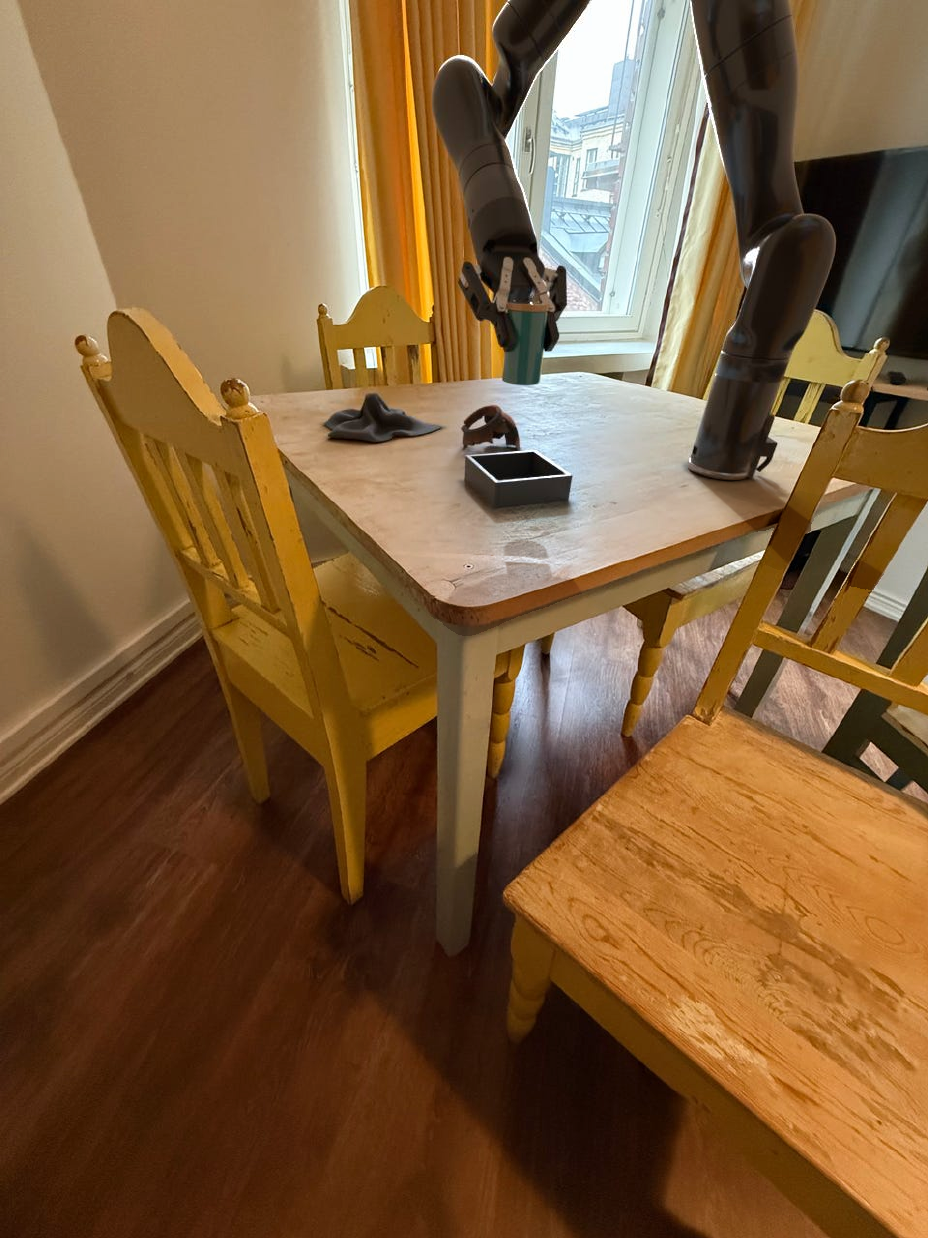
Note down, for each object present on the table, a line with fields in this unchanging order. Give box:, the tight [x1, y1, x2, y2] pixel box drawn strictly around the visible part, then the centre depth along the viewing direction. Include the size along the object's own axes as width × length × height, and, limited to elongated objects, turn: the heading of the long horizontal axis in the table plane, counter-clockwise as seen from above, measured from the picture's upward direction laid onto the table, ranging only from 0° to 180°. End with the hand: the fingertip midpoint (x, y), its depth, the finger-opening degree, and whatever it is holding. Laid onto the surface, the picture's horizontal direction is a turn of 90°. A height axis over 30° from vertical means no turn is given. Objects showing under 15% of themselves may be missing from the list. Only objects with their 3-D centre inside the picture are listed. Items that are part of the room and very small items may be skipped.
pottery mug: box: [460, 404, 522, 452], centre depth 89 cm, size 12×10×8 cm
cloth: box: [323, 392, 443, 443], centre depth 97 cm, size 22×19×6 cm
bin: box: [464, 449, 573, 510], centre depth 73 cm, size 11×11×4 cm
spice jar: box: [501, 301, 550, 386], centre depth 63 cm, size 5×5×8 cm
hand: (531, 346), depth 62 cm, fingers closed on spice jar, 5 cm apart
